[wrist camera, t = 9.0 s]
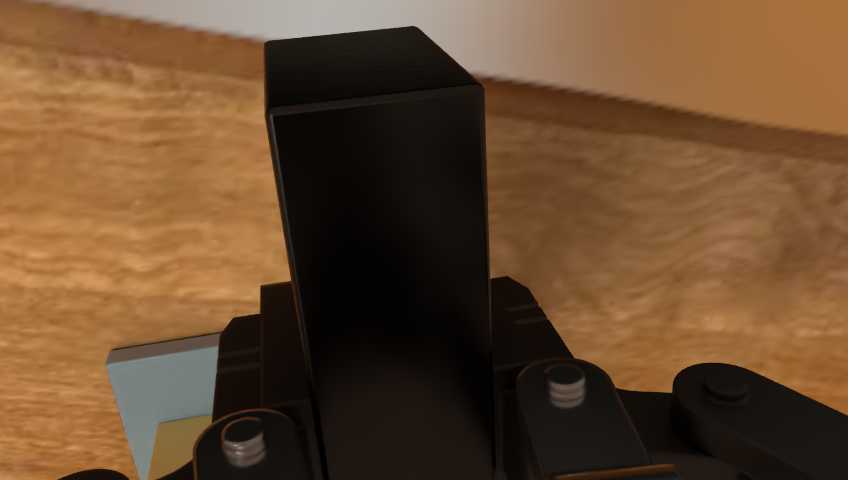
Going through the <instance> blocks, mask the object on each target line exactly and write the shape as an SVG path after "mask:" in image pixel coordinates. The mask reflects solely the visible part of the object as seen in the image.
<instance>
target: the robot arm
mask: <svg viewBox="0 0 848 480" xmlns="http://www.w3.org/2000/svg"><path fill="white" fill-rule="evenodd" d="M490 287H491V319H492V351H493V383H494V415H495V446H496V478H497V480H848V416H847V415H845V414H843V413H841V412H839V411H837V410H834V409H832V408H830V407H828V406H826V405H824V404H822V403H819V402H817V401H815V400H813V399H811V398H809V397H807V396H804V395H802V394H800V393H798V392H796V391H794V390H792V389H789V388H787V387H785V386H783V385H781V384H779V383H776V382H774V381H772V380H770V379H768V378H766V377H764V376H761V375H759V374H757V373H755V372H753V371H750V370H748V369H745V368H742V367H739V366H735V365H731V364H724V363H701V364H696V365H693V366H690V367H687V368H685V369H683V370H682V371H681V372H679V373H678V374H677V375H676V377H675V378H674V381H673V388H672V393H663V392H639V391H628V390H623V389H618V388H615V386H614V384H613V382H612V380H611V378H610V377H609V375H608V374H607V373H606V372H605V371H604V370H602V369H601V368H599V367H598V366H596V365H594V364H592V363H589V362H587V361H584V360H580V359H575V358H574V357H573V355H572V354H571V352H570V351H569V349H568V348H567V346H566V345H565V343H564V342H563V340H562V339H561V337H560V336H559V334H558V333H557V331H556V330H555V328H554V327H553V325H552V324H551V322H550V321H549V320H547V316H546V315H545V313H544V312H543V310H542V309H541V307H538V303H537V301H536V300H535V298H534V297H533V295H532V294H531V292H530V291H529V289H528V288H527V287H525V286H523V285H522V284H520V283H518V282H517V281H515V280H513V279H511V278H510V277H508V276H505V277H499V278H492V279H490ZM216 370H217V373H216V380H215V390H214V401H213V412H212V423H211V425H209V426H208V427H207V428H206V429H205V430H203V432H202V433H201V434H200V435H199V436H198V438H197V440H196V441H195V444H194V447H193V459H192V460H191V461H189V462H188V463H186V464H185V465H184V466H182V467H181V468H179V469H177V470H176V471H174V472H172V473H170V474H168V475H165V476H163V477H161V478H158V479H156V480H323V474H322V468H321V461H320V455H319V449H318V443H317V437H316V430H315V424H314V418H313V412H312V406H311V399H310V393H309V387H308V381H307V375H306V369H305V362H304V356H303V350H302V344H301V338H300V331H299V325H298V319H297V313H296V307H295V300H294V294H293V288H292V282H291V281H288V282H281V283H274V284H267V285H261V288H260V314H254V315H248V316H241V317H235V318H233V319H232V320H231V322H230V323H229V324H228V325H227V327H226V328H225V329H224V331H223V332H222V333H221V334H220V336H219V347H218V358H217V369H216ZM58 480H129V479H128V478H127V477H126V476H125V475H124V474H122V473H119V472H117V471H113V470H108V469H92V470H86V471H81V472H77V473H73V474H71V475H68V476H65V477H63V478H61V479H58Z"/></svg>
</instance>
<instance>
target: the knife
mask: <svg viewBox="0 0 848 480" xmlns="http://www.w3.org/2000/svg"><path fill="white" fill-rule="evenodd" d="M264 105H265V121H266V127H267V133H268V139H269V146H270V152H271V158H272V164H273V170H274V176H275V183H276V189H277V195H278V201H279V207H280V214H281V220H282V226H283V232H284V238H285V245H286V251H287V257H288V263H289V269H290V276H291V282H292V288H293V294H294V300H295V307H296V313H297V319H298V325H299V331H300V338H301V344H302V350H303V356H304V362H305V369H306V375H307V381H308V387H309V393H310V399H311V406H312V412H313V418H314V424H315V430H316V437H317V443H318V449H319V455H320V461H321V468H322V474H323V480H497V478H496V446H495V415H494V383H493V351H492V319H491V287H490V255H489V223H488V191H487V159H486V128H485V96H484V88H483V86H482V84H481V83H480V82H478V81H477V80H476V79H475V78H474V77H473V76H472V75H471V74H469V73H468V72H467V71H466V70H465V69H464V68H463V67H462V66H460V65H459V64H458V63H457V62H456V61H455V60H454V59H453V58H451V57H450V56H449V55H448V54H447V53H446V52H445V51H443V50H442V49H441V48H440V47H439V46H438V45H437V44H435V42H433V41H432V40H431V39H430V38H429V37H428V36H427V35H426V34H424V33H423V32H422V31H421V30H420V29H419V28H417V27H415V26H410V27H400V28H390V29H380V30H370V31H361V32H351V33H341V34H331V35H321V36H312V37H302V38H292V39H282V40H272V41H268V42H266V43H265V44H264Z"/></svg>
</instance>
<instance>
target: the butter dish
mask: <svg viewBox="0 0 848 480" xmlns="http://www.w3.org/2000/svg"><path fill="white" fill-rule="evenodd" d="M220 334H221V333H219V334H213V335H206V336H200V337H194V338H187V339H181V340H175V341H168V342H162V343H156V344H149V345H143V346H137V347H130V348H124V349H118V350H112V351H110V352H109V355H108V358H107V361H106V364H105V366H106V370H107V373H108V376H109V379H110V383H111V386H112V389H113V393H114V396H115V399H116V403H117V406H118V409H119V413H120V416H121V419H122V423H123V426H124V429H125V433H126V436H127V439H128V442H129V446H130V449H131V452H132V456H133V459H134V462H135V466H136V469H137V472H138V476H139V479H140V480H147V478H148V473H149V467H150V462H151V456H152V451H153V446H154V440H155V435H156V430H157V425H158V424H160V423H165V422H171V421H177V420H183V419H188V418H194V417H200V416H206V415H211V414H212V412H213V401H214V390H215V380H216V373H217V370H216V369H217V358H218V347H219V336H220Z"/></svg>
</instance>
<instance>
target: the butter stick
mask: <svg viewBox="0 0 848 480" xmlns="http://www.w3.org/2000/svg"><path fill="white" fill-rule="evenodd" d="M211 423H212V414H211V415H206V416H200V417H194V418H188V419H183V420H177V421H171V422H165V423H160V424H158V425H157V430H156V435H155V440H154V446H153V451H152V456H151V462H150V467H149V473H148V478H147V480H156V479H158V478H161V477H163V476H165V475H168V474H170V473H172V472H174V471H176V470H177V469H179V468H181V467H182V466H184V465H185V464H186V463H188V462H189V461H191V460H192V459H193V447H194V444H195V441H196V440H197V438H198V436H199V435H200V434H201V433H202V432H203V430H205V429H206V428H207V427H208V426H209V425H211Z"/></svg>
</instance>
